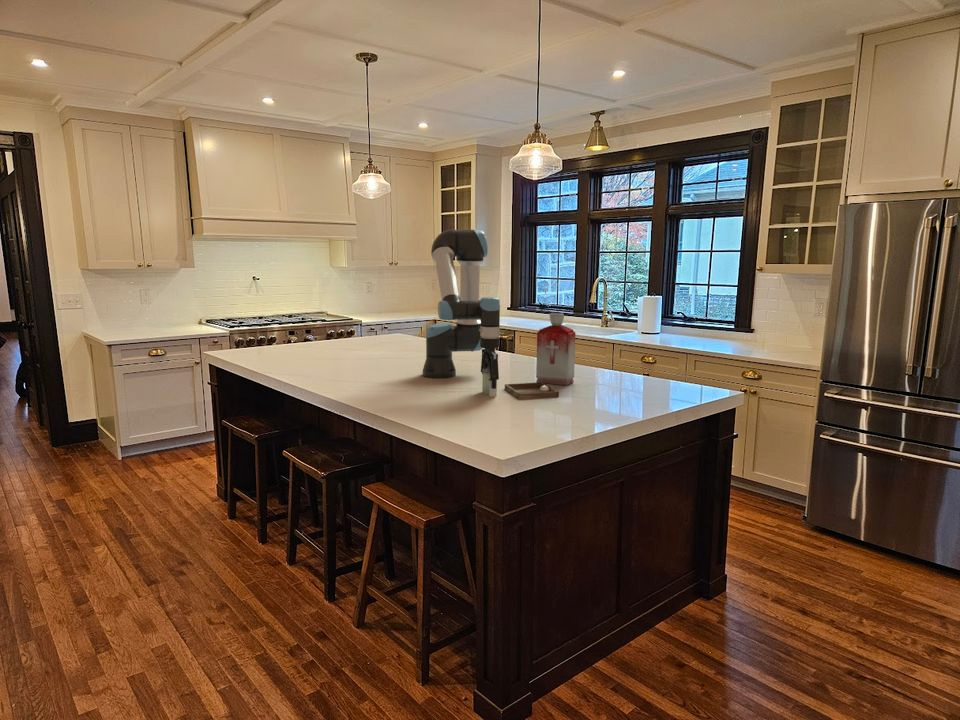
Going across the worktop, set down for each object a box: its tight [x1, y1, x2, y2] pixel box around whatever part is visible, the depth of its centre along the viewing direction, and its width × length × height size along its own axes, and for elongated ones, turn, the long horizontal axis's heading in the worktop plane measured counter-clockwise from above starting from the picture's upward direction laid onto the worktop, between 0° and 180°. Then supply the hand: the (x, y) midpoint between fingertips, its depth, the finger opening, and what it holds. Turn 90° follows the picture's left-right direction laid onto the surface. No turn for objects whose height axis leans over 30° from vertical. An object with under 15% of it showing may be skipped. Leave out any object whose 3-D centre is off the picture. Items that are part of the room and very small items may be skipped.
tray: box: [504, 382, 560, 400], centre depth 247 cm, size 18×16×2 cm
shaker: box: [482, 367, 495, 397], centre depth 246 cm, size 6×6×11 cm
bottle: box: [535, 312, 576, 387], centre depth 264 cm, size 14×10×30 cm
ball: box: [540, 385, 549, 392], centre depth 244 cm, size 4×4×4 cm
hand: (489, 393), depth 246 cm, fingers open, 9 cm apart
